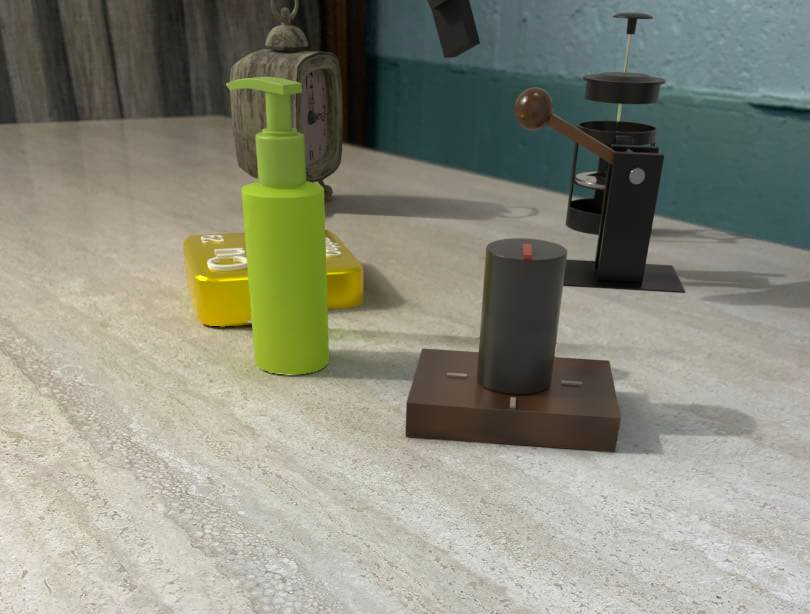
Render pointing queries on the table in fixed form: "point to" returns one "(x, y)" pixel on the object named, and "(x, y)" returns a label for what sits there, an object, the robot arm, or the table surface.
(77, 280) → the table surface
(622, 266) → the bracket
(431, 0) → the robot arm
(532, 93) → the lever
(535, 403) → the panel
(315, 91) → the tabletop clock
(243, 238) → the element tile
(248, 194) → the soap dispenser
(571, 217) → the french press
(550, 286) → the knob
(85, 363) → the table surface
